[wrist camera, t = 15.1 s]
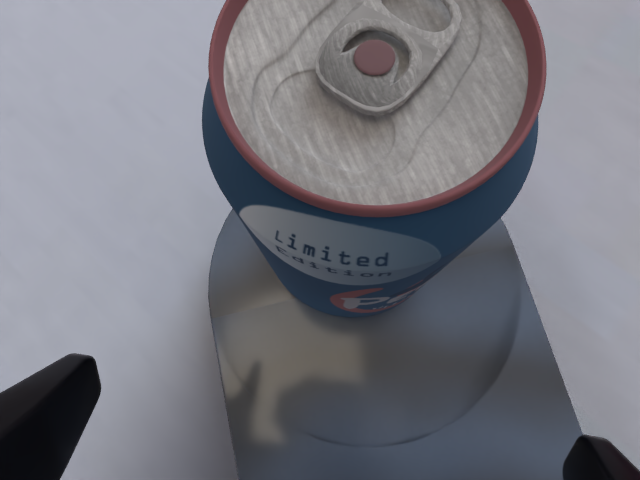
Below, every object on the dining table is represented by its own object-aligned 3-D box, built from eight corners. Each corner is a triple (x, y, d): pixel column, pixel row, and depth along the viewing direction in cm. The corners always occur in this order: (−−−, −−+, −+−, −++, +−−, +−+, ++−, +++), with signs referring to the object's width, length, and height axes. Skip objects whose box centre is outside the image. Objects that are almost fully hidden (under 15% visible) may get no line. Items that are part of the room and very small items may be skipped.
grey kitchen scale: (663, 755, 17) (740, 848, 14) (323, 853, 16) (321, 972, 13) (448, 140, 24) (466, 106, 20) (203, 197, 23) (183, 171, 20)
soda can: (370, 355, 18) (437, 345, 6) (236, 255, 19) (86, 92, 8) (463, 221, 19) (660, 8, 8) (332, 135, 20) (331, -160, 9)
